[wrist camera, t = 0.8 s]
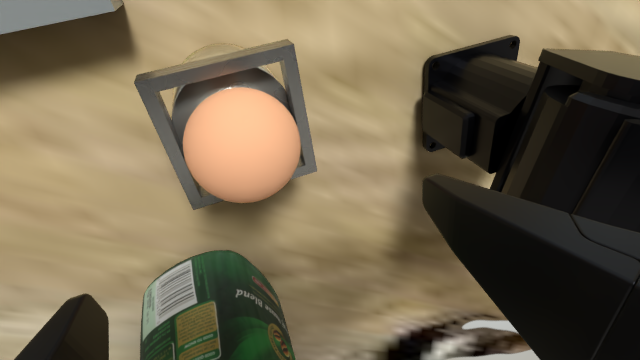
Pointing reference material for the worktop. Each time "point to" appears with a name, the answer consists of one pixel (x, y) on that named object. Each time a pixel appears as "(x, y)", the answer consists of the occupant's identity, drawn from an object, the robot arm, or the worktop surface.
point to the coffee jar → (213, 312)
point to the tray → (49, 12)
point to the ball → (241, 145)
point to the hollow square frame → (216, 75)
